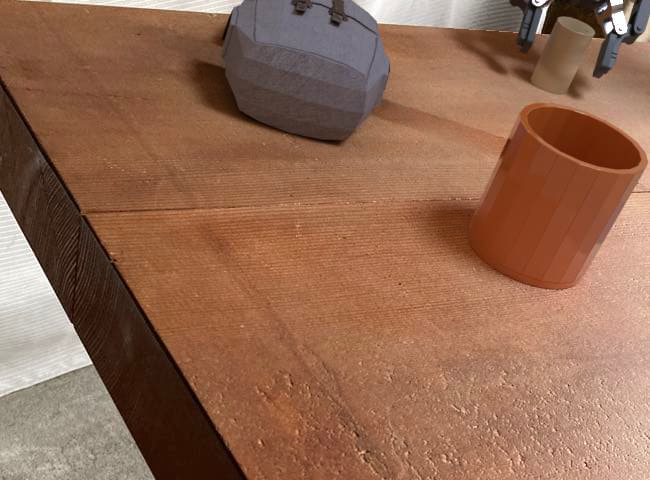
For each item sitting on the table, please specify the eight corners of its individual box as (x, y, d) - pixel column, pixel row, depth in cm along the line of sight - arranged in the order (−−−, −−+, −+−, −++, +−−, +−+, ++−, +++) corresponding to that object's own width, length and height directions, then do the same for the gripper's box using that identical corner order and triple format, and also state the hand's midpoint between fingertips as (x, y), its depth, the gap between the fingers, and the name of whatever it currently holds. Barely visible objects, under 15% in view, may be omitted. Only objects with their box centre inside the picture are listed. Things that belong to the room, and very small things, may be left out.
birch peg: (556, 101, 105) (593, 24, 100) (558, 116, 103) (596, 38, 97) (521, 90, 105) (556, 12, 99) (523, 105, 102) (558, 26, 97)
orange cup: (578, 239, 85) (639, 129, 77) (588, 303, 78) (656, 188, 70) (466, 204, 84) (518, 89, 77) (466, 265, 77) (522, 145, 70)
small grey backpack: (371, 160, 85) (374, 69, 99) (405, 64, 79) (403, -19, 93) (202, 112, 84) (228, 26, 97) (224, 9, 78) (249, -66, 91)
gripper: (556, -143, 95) (507, 22, 95) (694, -96, 96) (645, 68, 96) (529, -96, 102) (484, 57, 103) (657, -52, 103) (612, 99, 104)
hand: (562, 62), depth 99 cm, fingers open, 7 cm apart
